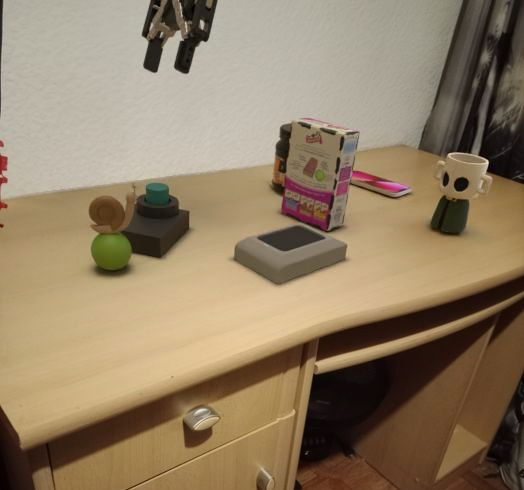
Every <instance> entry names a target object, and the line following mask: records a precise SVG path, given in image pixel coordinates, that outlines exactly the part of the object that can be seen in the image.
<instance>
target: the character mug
mask: <svg viewBox="0 0 524 490" xmlns="http://www.w3.org/2000/svg"><path fill="white" fill-rule="evenodd" d="M489 163H490V162H489V160H488V159H486V158H485V157H482V156H479V155H477V154H471V153H466V152H450V153H448V154H447V155H446V158H445V160H444V161H443V160H438V162H437V163H436V166H435V170H434V173H433V178H434V179H435V180H438V181H439V182H438V190H439V192H440V193H441V194H443V195H442V196H441V197H440V198H439V201H438V203H437V205H436V207H435V210H434V211H433V215H432V217H431V219H430V225H431V226H432V227H433V228H434V229H438V226H439V227H440V231H442V232H447V233H455V234H457V233H458V234H459V233H461V232H462V231H464V230H465V229H466V228H467V222H468V218H469V211H470V200H472V199H475V198H477V197H478V196H479V195H481V196H487V195H489V193H490V190H491V187H492V183H493V177H492V176H490V175H488V174H486V173H487V170H488V167H489ZM441 170H442V171H441ZM484 182H485V183H484ZM483 183H484V186H483V188H482V185H483Z"/></svg>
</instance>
